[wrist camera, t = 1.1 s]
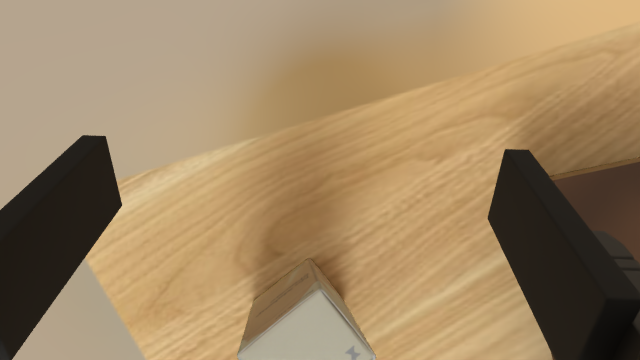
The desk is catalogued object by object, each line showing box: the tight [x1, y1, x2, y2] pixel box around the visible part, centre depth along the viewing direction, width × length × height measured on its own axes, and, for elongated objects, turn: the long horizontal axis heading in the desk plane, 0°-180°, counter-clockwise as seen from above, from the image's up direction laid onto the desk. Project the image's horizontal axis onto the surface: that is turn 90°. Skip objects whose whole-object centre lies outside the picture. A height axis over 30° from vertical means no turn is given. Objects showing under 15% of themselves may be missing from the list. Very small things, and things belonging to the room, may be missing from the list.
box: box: [237, 258, 376, 360], centre depth 26 cm, size 5×4×11 cm
